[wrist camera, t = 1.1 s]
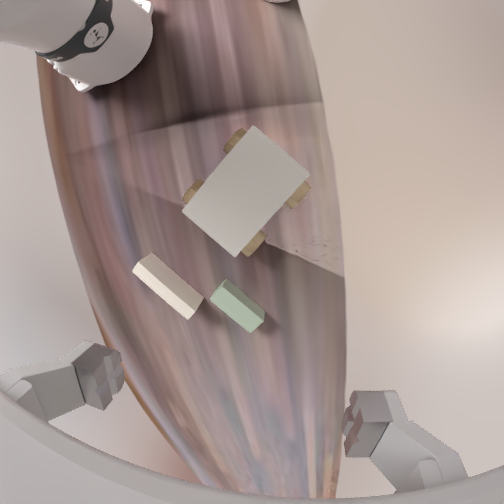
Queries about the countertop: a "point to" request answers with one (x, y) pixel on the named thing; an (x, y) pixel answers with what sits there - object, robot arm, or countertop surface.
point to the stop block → (168, 285)
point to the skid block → (238, 306)
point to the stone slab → (245, 191)
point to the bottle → (277, 1)
